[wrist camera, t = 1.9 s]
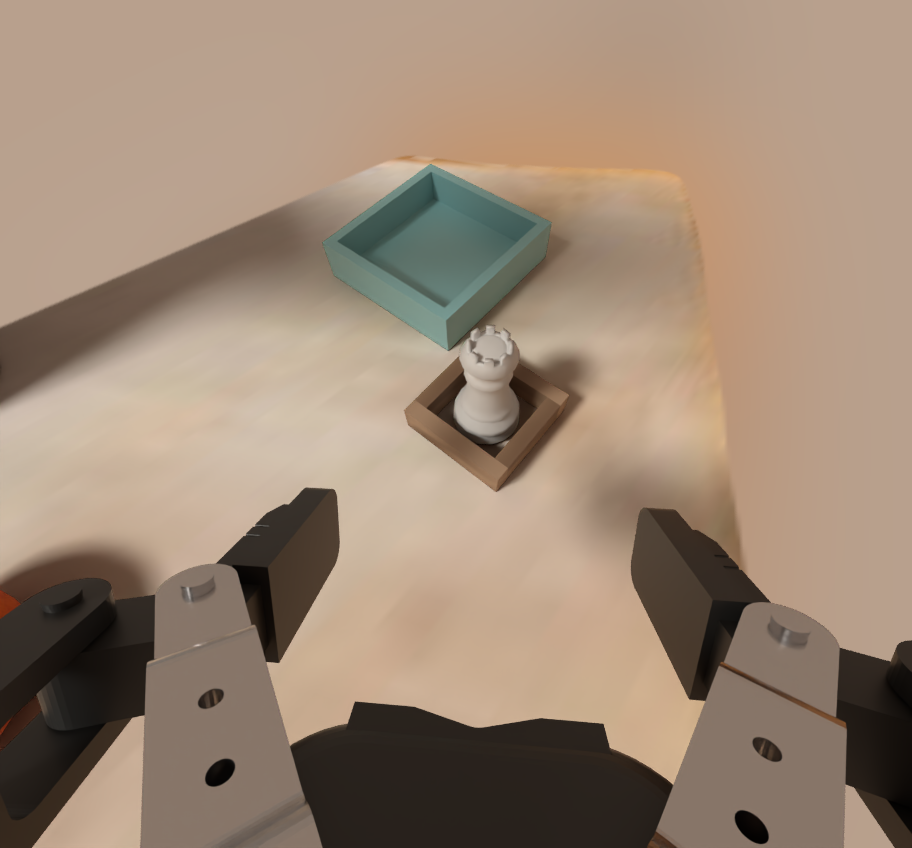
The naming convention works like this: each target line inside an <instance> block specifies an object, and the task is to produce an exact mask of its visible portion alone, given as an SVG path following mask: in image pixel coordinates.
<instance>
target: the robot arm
mask: <svg viewBox="0 0 912 848" xmlns="http://www.w3.org/2000/svg"><path fill="white" fill-rule="evenodd" d="M339 545H340V539H339V522H338V505H337V495H336V492H335V490H334V489H322V488H304V489H303V490H302V491H301V492H300V494H299V495H298V496H297V497H296V498H295V499H294V500H293V501H292V502H291V503H290V504H289V505H286V504H284V505H282V506H280V507H278V508H276V509H274V510H272V511H270V512H268V513H267V514H266V515H264V516H263V517H262V518H261V519H260V520H259V521H258V522H257V523H256V524H255V527H252V528H251V529H250V530H249V531H248V532H247V533H246V536H243V537H242V538H241V539H240V540H239V541H238V542H237V543H236V544H235V545H234V546H233V547H232V548H231V549H230V550H229V551H228V552H227V553H226V554H225V555H224V556H223V557H222V558H221V559H220V560H219V561H218V562H217V563H216V564H206V565H200V566H196V567H193V568H189V569H187V570H184V571H182V572H180V573H178V574H176V575H174V576H172V577H171V578H169V579H168V580H167V581H165V582H164V583H163V584H162V585H161V586H160V587H159V589H158V590H157V592H156V595H151V596H144V597H137V598H129V599H122V600H114V596H113V592H112V588H111V585H110V583H109V582H107V581H105V580H103V579H97V578H87V579H79V580H74V581H69V582H66V583H62V584H59V585H56V586H54V587H51V588H48V589H46V590H44V591H42V592H40V593H38V594H36V595H34V596H32V597H31V598H29V599H28V600H26V601H25V602H23V603H22V604H20V605H19V606H18V607H16V608H15V609H13V610H12V611H11V612H9V613H8V614H6V615H5V616H4V617H2V618H1V619H0V730H1V728H2V727H3V726H4V725H5V724H6V723H7V722H8V721H9V720H10V719H11V718H12V717H13V716H14V715H15V714H16V713H17V712H18V711H19V710H20V709H21V708H22V707H23V706H25V705H26V704H27V703H28V702H29V701H30V700H31V699H32V698H33V697H34V696H35V695H36V694H37V697H38V700H39V703H40V706H41V709H42V711H41V712H40V713H39V714H38V715H37V716H36V717H35V718H34V719H33V720H32V721H31V722H30V723H29V724H28V725H27V726H26V727H25V728H24V729H23V730H22V731H21V732H20V733H19V734H18V735H17V736H16V737H15V738H14V739H13V740H12V741H11V742H10V743H9V744H8V745H7V746H6V747H5V748H4V749H3V750H2V751H1V752H0V848H32V847H33V845H34V844H35V843H36V842H37V840H38V839H39V838H40V836H41V835H42V834H43V832H44V831H45V830H46V829H47V827H48V826H49V825H50V823H51V822H52V821H53V820H54V818H55V817H56V816H57V814H58V813H59V812H60V810H61V809H62V808H63V807H64V805H65V804H66V803H67V801H68V800H69V799H70V798H71V796H72V795H73V794H74V792H75V791H76V790H77V789H78V787H79V786H80V785H81V783H82V782H83V781H84V779H85V778H86V777H87V776H88V774H89V773H90V772H91V770H92V769H93V768H94V767H95V765H96V764H97V763H98V761H99V760H100V759H101V758H102V756H103V755H104V754H105V752H106V751H107V750H108V748H109V747H110V746H111V745H112V743H113V742H114V741H115V739H116V738H117V737H118V736H119V734H120V733H121V732H122V730H123V729H124V728H125V726H126V725H127V724H128V723H129V721H130V720H131V719H132V718H133V717H138V716H143V715H145V722H144V752H143V783H142V813H141V843H140V848H844V818H845V816H844V815H845V784H846V785H849V786H852V787H854V788H855V789H856V791H857V793H858V794H859V796H860V797H861V799H862V800H863V801H864V803H865V805H866V806H867V807H868V809H869V810H870V812H871V813H872V815H873V816H874V818H875V819H876V821H877V822H878V824H879V825H880V826H881V828H882V830H883V831H884V833H885V834H886V836H887V837H888V838H889V840H890V841H891V843H892V844H893V846H894V847H895V848H912V641H904V642H901V643H899V644H898V645H897V648H896V650H895V652H894V655H893V658H892V660H891V662H890V661H886V660H882V659H879V658H875V657H871V656H868V655H864V654H860V653H856V652H853V651H849V650H846V649H842V648H839V645H838V642H837V640H836V639H835V637H834V636H833V635H832V634H831V633H830V632H829V631H828V630H827V629H826V628H825V627H824V626H823V625H821V624H820V623H818V622H817V621H815V620H814V619H812V618H810V617H809V616H807V615H805V614H803V613H801V612H799V611H796V610H794V609H791V608H788V607H786V606H782V605H778V604H774V603H771V602H770V601H769V600H768V599H767V598H766V597H765V595H764V594H763V593H762V592H761V591H760V590H759V589H758V588H757V587H756V586H755V584H754V583H753V582H752V581H751V580H750V579H749V578H748V577H747V575H746V574H745V573H744V572H743V571H742V570H739V567H738V566H737V564H736V563H735V562H734V561H733V560H732V559H731V558H729V556H728V554H727V553H726V552H725V551H724V550H723V549H722V548H721V547H720V546H719V544H718V543H717V542H715V541H714V540H712V539H711V538H709V537H707V536H706V535H704V534H703V533H701V532H700V531H698V530H692V529H691V528H690V526H689V525H688V524H687V523H686V522H685V521H684V519H683V518H682V517H681V516H680V515H679V513H678V512H677V511H676V510H673V509H655V508H643V509H642V510H641V511H640V514H639V518H638V523H637V529H636V535H635V541H634V548H633V554H632V560H631V576H632V581H633V584H634V587H635V589H636V591H637V593H638V595H639V597H640V599H641V601H642V604H643V606H644V608H645V610H646V612H647V614H648V616H649V618H650V620H651V622H652V624H653V626H654V628H655V630H656V632H657V634H658V636H659V638H660V640H661V643H662V645H663V647H664V649H665V651H666V653H667V655H668V657H669V659H670V661H671V663H672V665H673V667H674V669H675V671H676V673H677V675H678V677H679V679H680V682H681V684H682V686H683V688H684V690H685V692H686V694H687V696H688V698H689V699H690V700H702V701H705V704H704V706H703V709H702V712H701V714H700V717H699V720H698V722H697V725H696V727H695V730H694V733H693V735H692V738H691V741H690V743H689V746H688V748H687V751H686V754H685V756H684V759H683V762H682V764H681V767H680V769H679V772H678V775H677V777H676V780H675V783H674V785H673V784H672V783H670V782H669V781H668V780H667V779H665V778H664V777H662V776H661V775H660V774H658V773H657V772H655V771H654V770H653V769H651V768H649V767H648V766H646V765H644V764H643V763H641V762H639V761H637V760H636V759H634V758H632V757H630V756H627V755H625V754H623V753H621V752H619V751H616V750H613V749H611V748H610V747H609V743H608V740H607V736H606V732H605V728H604V724H599V723H588V722H577V721H565V720H554V719H543V718H539V719H533V720H527V721H521V722H515V723H509V724H503V725H496V726H490V727H484V728H474V727H470V726H467V725H464V724H462V723H459V722H456V721H453V720H450V719H447V718H444V717H442V716H439V715H436V714H433V713H430V712H427V711H425V710H422V709H419V708H416V707H409V706H398V705H387V704H376V703H365V702H355V703H354V706H353V709H352V713H351V716H350V719H349V722H348V724H343V725H338V726H335V727H331V728H328V729H324V730H322V731H319V732H317V733H314V734H312V735H309V736H307V737H305V738H303V739H301V740H299V741H298V742H296V743H294V744H292V745H291V746H290V745H289V742H288V738H287V735H286V731H285V727H284V724H283V720H282V717H281V713H280V710H279V706H278V703H277V699H276V696H275V692H274V688H273V685H272V681H271V678H270V674H269V671H268V667H267V664H266V662H274V663H279V662H280V660H281V659H282V657H283V655H284V653H285V652H286V650H287V648H288V646H289V645H290V643H291V641H292V639H293V638H294V636H295V634H296V632H297V631H298V629H299V627H300V625H301V624H302V622H303V620H304V618H305V616H306V615H307V613H308V611H309V609H310V608H311V606H312V604H313V602H314V601H315V599H316V597H317V595H318V594H319V592H320V590H321V588H322V587H323V585H324V583H325V581H326V580H327V578H328V576H329V574H330V573H331V571H332V569H333V567H334V566H335V563H336V561H337V557H338V553H339Z"/></svg>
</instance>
